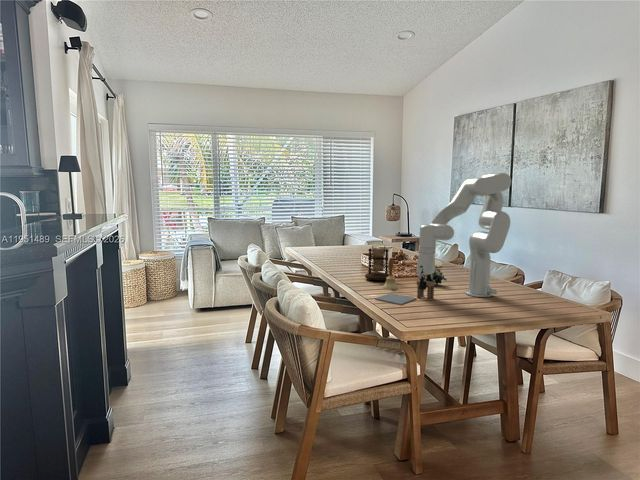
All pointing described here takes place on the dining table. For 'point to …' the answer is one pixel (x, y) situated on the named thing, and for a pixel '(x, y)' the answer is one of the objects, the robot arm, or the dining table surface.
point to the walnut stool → (429, 290)
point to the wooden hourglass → (377, 264)
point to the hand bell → (390, 278)
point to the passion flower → (438, 276)
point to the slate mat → (396, 298)
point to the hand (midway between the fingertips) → (425, 288)
